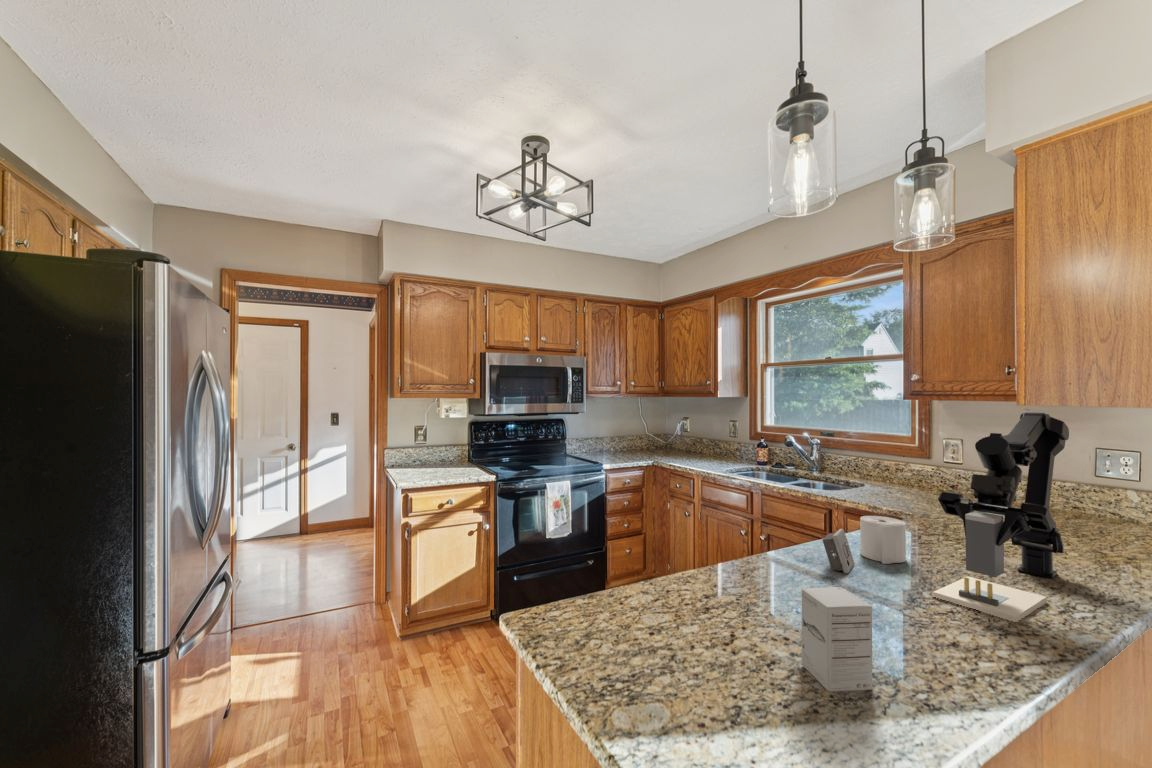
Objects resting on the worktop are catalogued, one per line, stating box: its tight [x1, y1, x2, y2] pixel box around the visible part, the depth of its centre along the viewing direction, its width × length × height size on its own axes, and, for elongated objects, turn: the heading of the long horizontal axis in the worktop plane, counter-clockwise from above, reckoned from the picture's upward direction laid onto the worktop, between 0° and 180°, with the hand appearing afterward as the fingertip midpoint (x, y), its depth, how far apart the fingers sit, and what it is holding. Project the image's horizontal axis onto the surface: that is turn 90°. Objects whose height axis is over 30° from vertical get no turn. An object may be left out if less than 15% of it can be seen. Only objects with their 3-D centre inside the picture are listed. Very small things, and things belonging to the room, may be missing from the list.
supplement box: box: [801, 586, 873, 693], centre depth 76 cm, size 7×7×13 cm
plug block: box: [965, 511, 1005, 578], centre depth 105 cm, size 5×5×12 cm
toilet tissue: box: [859, 515, 907, 564], centre depth 134 cm, size 11×12×10 cm
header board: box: [932, 575, 1048, 623], centre depth 106 cm, size 18×14×5 cm
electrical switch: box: [822, 528, 855, 575], centre depth 126 cm, size 9×5×9 cm, turn 141°
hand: (982, 541), depth 104 cm, fingers closed on plug block, 5 cm apart
